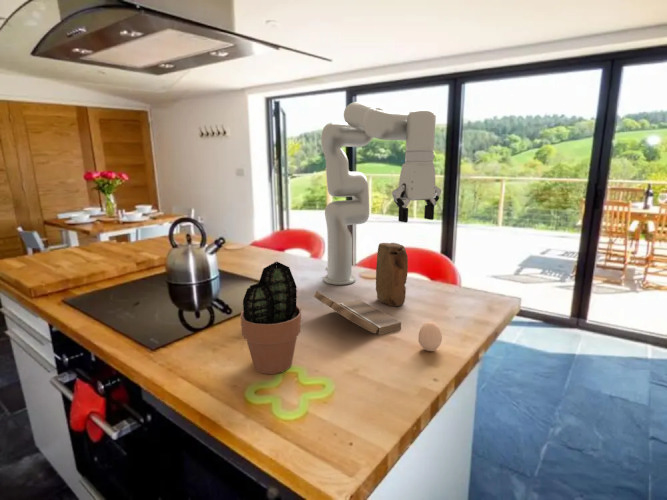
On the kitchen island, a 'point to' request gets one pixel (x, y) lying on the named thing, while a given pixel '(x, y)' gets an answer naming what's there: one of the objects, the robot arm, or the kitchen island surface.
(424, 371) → the kitchen island surface
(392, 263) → the block
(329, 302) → the plank
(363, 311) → the laid board
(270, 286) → the potted plant
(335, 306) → the plank
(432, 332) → the egg
